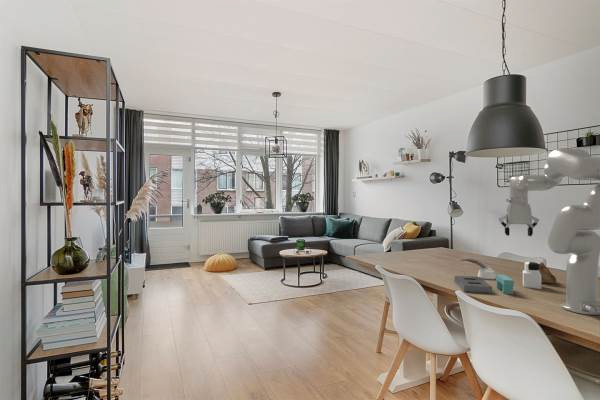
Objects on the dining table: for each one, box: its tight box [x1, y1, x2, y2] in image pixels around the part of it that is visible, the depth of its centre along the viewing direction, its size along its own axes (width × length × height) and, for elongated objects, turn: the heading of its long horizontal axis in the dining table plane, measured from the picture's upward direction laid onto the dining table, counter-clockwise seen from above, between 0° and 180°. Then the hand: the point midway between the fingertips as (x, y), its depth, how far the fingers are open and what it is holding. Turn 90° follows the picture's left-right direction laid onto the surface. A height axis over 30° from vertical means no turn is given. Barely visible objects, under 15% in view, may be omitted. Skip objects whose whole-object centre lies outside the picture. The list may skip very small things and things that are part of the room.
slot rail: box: [454, 275, 493, 294], centre depth 164 cm, size 12×20×3 cm, turn 167°
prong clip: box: [495, 274, 515, 295], centre depth 157 cm, size 4×11×6 cm, turn 167°
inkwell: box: [460, 257, 497, 280], centre depth 185 cm, size 9×18×10 cm, turn 73°
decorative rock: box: [538, 261, 557, 284], centre depth 174 cm, size 12×6×11 cm, turn 83°
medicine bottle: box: [522, 261, 542, 290], centre depth 165 cm, size 7×7×12 cm
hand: (518, 235), depth 166 cm, fingers open, 9 cm apart
